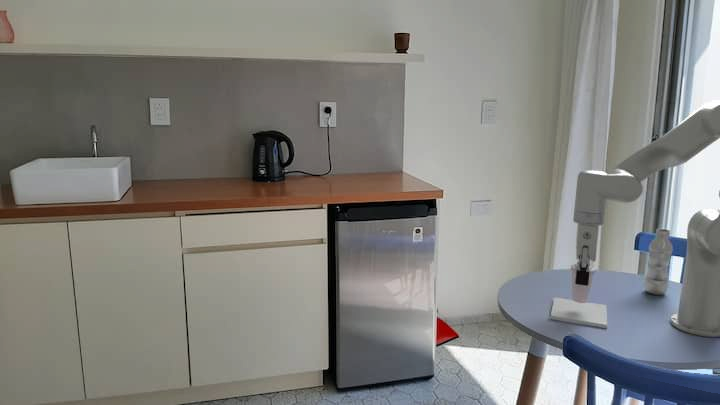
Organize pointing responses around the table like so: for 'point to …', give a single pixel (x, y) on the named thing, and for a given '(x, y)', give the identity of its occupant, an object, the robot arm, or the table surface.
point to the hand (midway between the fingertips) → (581, 279)
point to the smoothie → (581, 291)
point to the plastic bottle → (658, 263)
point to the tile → (579, 312)
